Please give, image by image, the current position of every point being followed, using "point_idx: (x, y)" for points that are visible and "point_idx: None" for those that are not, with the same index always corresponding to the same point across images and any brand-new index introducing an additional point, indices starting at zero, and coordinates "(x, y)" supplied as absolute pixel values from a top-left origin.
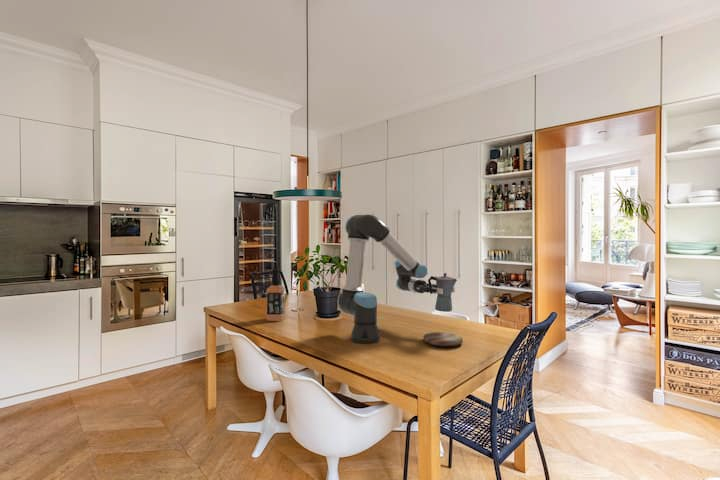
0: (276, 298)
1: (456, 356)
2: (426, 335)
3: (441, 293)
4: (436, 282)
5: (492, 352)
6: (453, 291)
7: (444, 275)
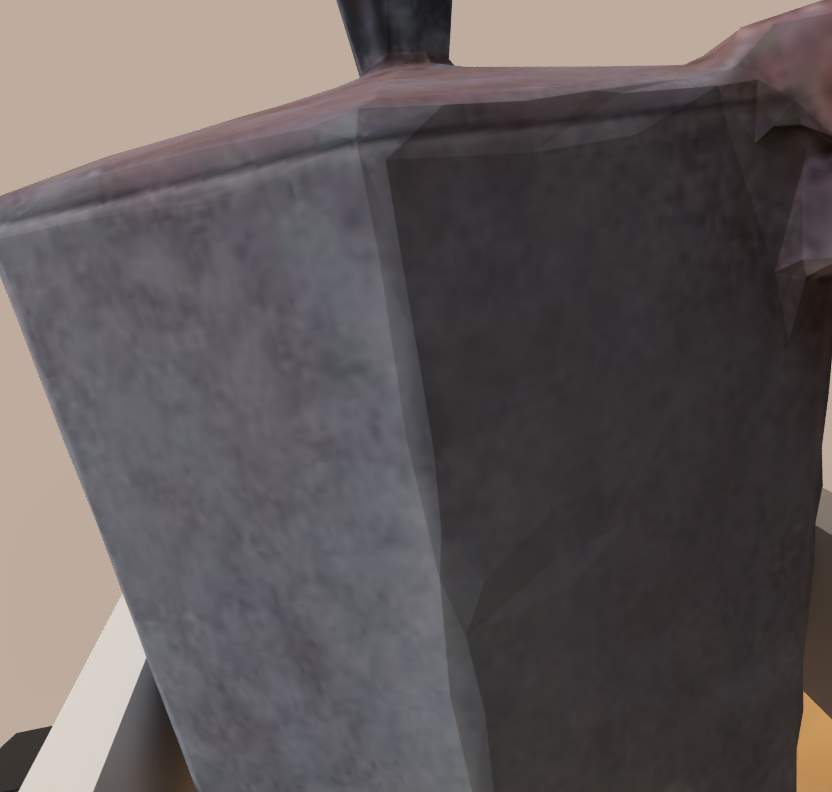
0: None
1: (816, 707)
2: None
3: None
4: (825, 380)
5: None
6: None
7: (446, 36)
